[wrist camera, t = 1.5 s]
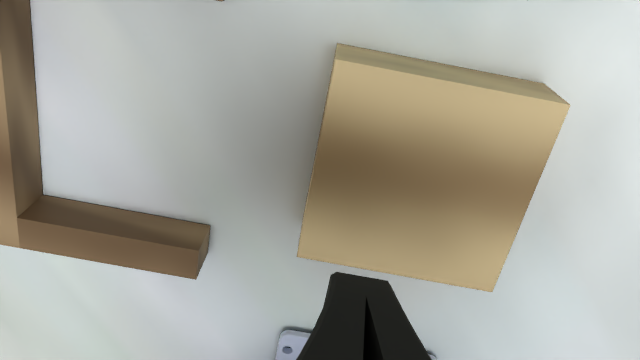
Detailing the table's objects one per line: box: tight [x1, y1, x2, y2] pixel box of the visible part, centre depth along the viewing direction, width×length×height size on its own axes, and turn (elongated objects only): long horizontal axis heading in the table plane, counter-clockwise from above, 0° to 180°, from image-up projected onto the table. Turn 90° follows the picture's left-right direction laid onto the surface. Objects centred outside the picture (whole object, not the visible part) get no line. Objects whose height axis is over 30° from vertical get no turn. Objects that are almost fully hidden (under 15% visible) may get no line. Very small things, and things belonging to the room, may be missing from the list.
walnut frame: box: [0, 0, 224, 279], centre depth 18 cm, size 20×9×2 cm, turn 170°
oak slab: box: [297, 43, 570, 292], centre depth 20 cm, size 8×8×3 cm
